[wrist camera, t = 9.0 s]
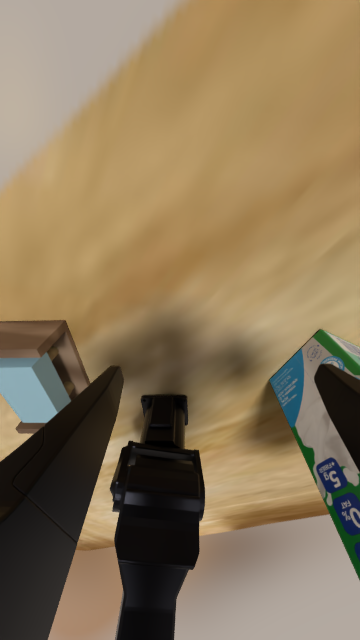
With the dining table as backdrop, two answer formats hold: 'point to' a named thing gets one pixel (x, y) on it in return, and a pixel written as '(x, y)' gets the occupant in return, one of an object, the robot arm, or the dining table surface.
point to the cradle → (34, 343)
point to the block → (32, 388)
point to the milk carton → (324, 431)
